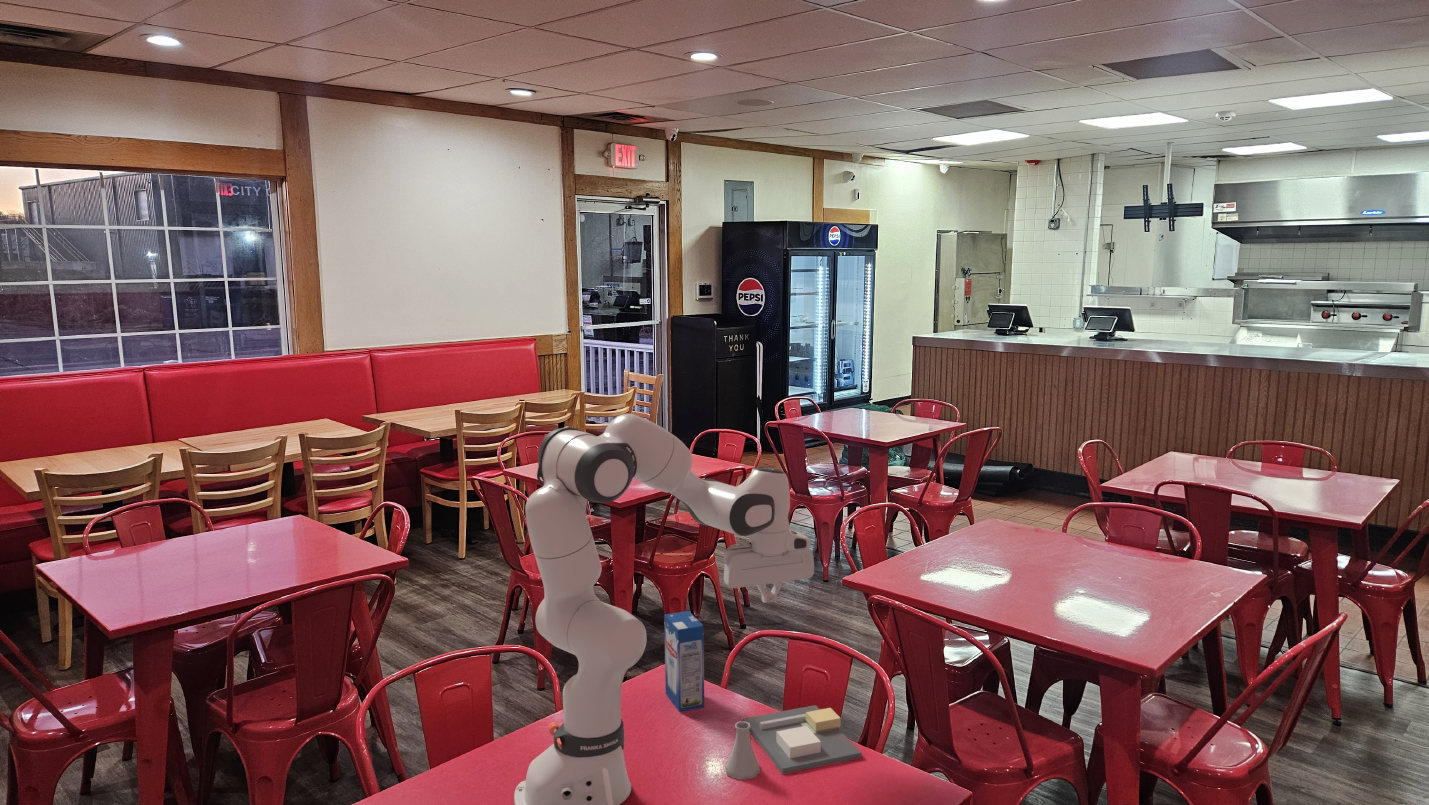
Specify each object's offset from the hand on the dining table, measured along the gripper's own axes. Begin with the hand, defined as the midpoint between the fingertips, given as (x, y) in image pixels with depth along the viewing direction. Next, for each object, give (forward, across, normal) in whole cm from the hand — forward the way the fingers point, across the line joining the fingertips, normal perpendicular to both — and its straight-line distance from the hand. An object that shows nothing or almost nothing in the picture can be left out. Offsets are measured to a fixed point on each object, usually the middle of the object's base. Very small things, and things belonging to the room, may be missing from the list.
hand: (769, 601), depth 199 cm
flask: (+29, -12, -15) cm, 35 cm away
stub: (+28, +10, -6) cm, 30 cm away
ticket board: (+29, +4, -8) cm, 30 cm away
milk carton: (+29, -14, +18) cm, 37 cm away
